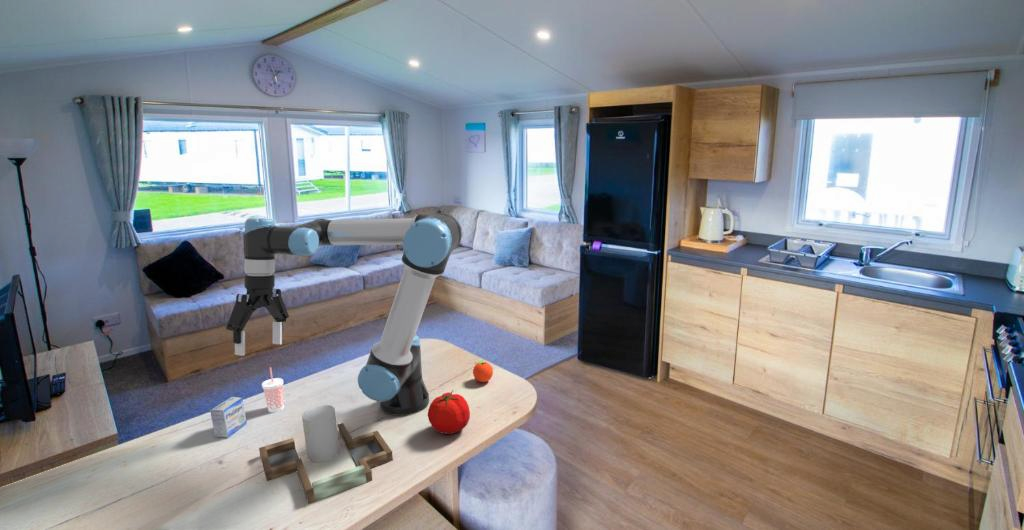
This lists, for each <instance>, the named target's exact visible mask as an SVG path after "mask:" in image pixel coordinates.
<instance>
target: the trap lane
mask: <svg viewBox="0 0 1024 530" xmlns="http://www.w3.org/2000/svg"><path fill="white" fill-rule="evenodd" d="M337 432H338V434H339V435H340V437H341V439H342V441H343V443H344V444H345V447H346V448H347V450H348V452H349V453H350V455H351V458H352V459H353V461H354V463H355V464H356V466H355V467H352V468H349V469H347V470H343V471H341V472H337V473H335V474H333V475H330V476H327V477H324V478H320V479H318V480H314V481H313V482H311V481H310V479H309V476H308V473H307V470H306V467H305V465H304V462H303V459H302V457H299V455H298V452H297V449H296V443H295V439H294V437H291V438H288V439H285V440H282V441H278V442H275V443H271V444H268V445H264V446H261V447H259V448H258V451H259V456H260V457H259V458H260V460H261V464H262V468H263V472H264V476H265V480H266V482H270V481H273V480H276V479H278V478H279V479H280V478H281V477H286V476H288V475H290V474H294V473H297V476H298V478H299V481H300V484H301V486H302V491H303V493H304V495H305V498H306V500H307V504H311V503H313V502H316V501H318V500H322V499H324V498H327V497H330V496H332V495H335V494H338V493H341V492H343V491H346V490H349V489H352V488H355V487H358V486H360V485H363V484H366V483H368V482H371V481H373V473H372V468H375V467H376V466H380V465H383V464H385V463H388V462H391V461H393V459H394V458H393V450H392V449H391V448H390V446H389V445H388V443H387V442H386V440H385V439H384V437H383V436H382V435H381V433H380V432H379V430H374V431H371V432H369V433H365V434H362V435H359V436H356V437H352V436H351V434H350V432H349V431H348V429H347V427H346V425H345V423H344V422H341V423H337ZM374 466H375V467H374Z"/></svg>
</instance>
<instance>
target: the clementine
mask: <svg viewBox="0 0 1024 530" xmlns="http://www.w3.org/2000/svg"><path fill="white" fill-rule="evenodd" d="M472 374H473V377H474V380H476V381H477V382H479V383H486V382H488V381H490V380H491V379H492V377H493V374H494V370H493V367H492V364H490V362H488V361H482V360H479V361H475V363H474V367H473V368H472Z"/></svg>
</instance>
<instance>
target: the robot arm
mask: <svg viewBox="0 0 1024 530" xmlns="http://www.w3.org/2000/svg"><path fill="white" fill-rule="evenodd" d="M244 221H245V222H244V233H243V237H244V238H243V239H244V273H245V275H244V277H243V278H244V288H245V289H246V294H243V293H237V294H236V295H235V296H236V297H235V303H234V306H233V308H232V311H231V314H230V316H229V320H228V322H227V324H226V327H225V330H226V331H230V332H232V336H233V339H232V341H233V344H234V355H236V356H243V357H244V356H246V331H244V328H245V327H246V325H247V323H248V322H249V320H250V319H251V317H252V315H253V313H254V312H255V311H256V310H257V309H261V308H266V310H267V311H268V313H269V314H270V315H271V317H272V318H273V319H274V321H272V344H273V345H282V344H283V331H284V323H286V322H287V319H289V317H290V315H289V312H288V310H287V307H286V304H285V302H284V300H283V297H282V290H281V288H275V282H276V281H275V279H276V277H275V275H274V274H275V272H276V266H275V265H276V263H275V262H276V260H275V258H276V255H288V256H290V255H291V256H298V257H304V256H313V255H315V253H316V252H317V250H318V249H319V247H321V246H323V247H325V246H330V247H331V246H380V245H382V246H383V245H385V246H386V245H388V246H389V245H392V246H393V245H399V246H400V245H402V249H403V255H402V257H401V262H402V265H404V268H403V271H402V274H401V279H400V281H399V284H398V287H397V288H396V289H397V290H396V293H395V296H394V299H393V302H392V305H391V308H390V310H389V313H388V317H387V320H386V323H385V325H384V329H383V331H382V335H381V337H380V340H379V341H377V342H375V343H373V344H372V347H371V350H370V352H369V355H368V359H367V361H366V364H365V365H364V366H363V367H362V368H361V369H360V371H359V373H358V375H357V385H358V388H359V389H360V390H361V392H362V394H363V395H364V396H365V397H367V398H368V399H370V400H373V401H375V402H380V409H381V411H382V412H384V413H385V414H389V415H392V416H408V415H411V414H415V413H418V412H420V411H422V410H424V409H425V408H427V406H428V405H430V404H429V403H430V393H429V391H428V388H427V386H426V384H425V381H424V379H423V368H422V353H421V352H422V351H421V350H422V349H421V346H422V345H421V341H420V337H419V336H418V335H417V332H418V331H417V330H418V329H419V325H420V323H421V321H422V317H423V313H424V311H425V310H426V306H427V303H428V300H429V298H430V295H431V292H432V289H433V286H434V284H435V281H436V278H437V277H439V276H442V275H443V274H444V272H445V270H446V267H447V264H448V262H449V259H450V257H451V254H452V252H453V251H454V250H456V249H457V248H458V246H459V245H460V244H461V242H462V237H463V233H462V232H463V231H462V227H461V225H460V223H459V220H457V218H455V217H454V216H453V215H451V214H449V213H447V212H435V213H434V212H433V213H425V214H424V213H423V214H420V213H419V214H416V215H415V216H414V217H409V218H407V217H406V218H373V219H372V218H368V219H367V218H365V219H364V218H362V219H359V218H357V219H328V218H316V219H314V220H312V221H311V220H310V221H309V222H305V223H301V224H298V225H295V226H288V227H287V226H277V225H276V221H275V219H273V218H255V217H251V218H247V219H246V220H244Z"/></svg>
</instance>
